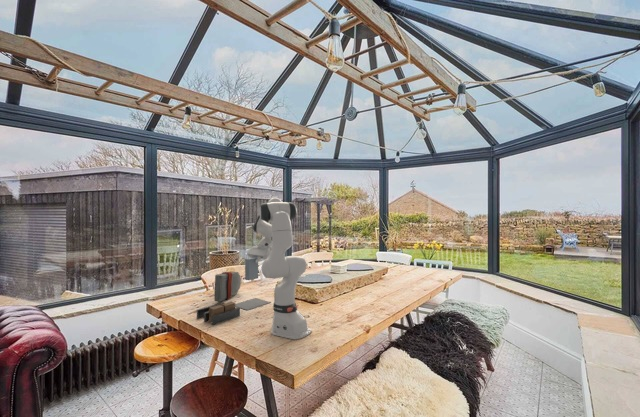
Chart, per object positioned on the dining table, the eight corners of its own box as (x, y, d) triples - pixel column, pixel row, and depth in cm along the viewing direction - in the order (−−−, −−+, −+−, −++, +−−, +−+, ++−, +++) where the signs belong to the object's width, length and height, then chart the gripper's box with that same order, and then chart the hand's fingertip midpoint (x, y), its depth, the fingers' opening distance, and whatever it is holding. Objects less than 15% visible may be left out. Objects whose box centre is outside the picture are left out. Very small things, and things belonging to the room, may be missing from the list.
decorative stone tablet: (222, 274, 200) (242, 269, 229) (213, 274, 201) (234, 269, 230) (221, 303, 198) (241, 294, 227) (212, 302, 199) (233, 294, 229)
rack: (239, 316, 177) (239, 307, 177) (213, 325, 163) (213, 316, 163) (223, 310, 188) (223, 302, 188) (196, 318, 173) (196, 309, 173)
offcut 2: (235, 315, 177) (235, 302, 177) (225, 319, 172) (225, 305, 172) (231, 314, 180) (231, 301, 180) (221, 317, 174) (221, 304, 174)
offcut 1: (223, 319, 171) (223, 306, 171) (212, 323, 166) (212, 309, 166) (219, 318, 174) (219, 304, 174) (208, 321, 168) (209, 307, 168)
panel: (258, 278, 202) (258, 257, 202) (248, 280, 195) (248, 259, 195) (254, 277, 204) (254, 257, 204) (245, 279, 198) (245, 258, 198)
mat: (270, 302, 203) (270, 302, 203) (247, 310, 187) (247, 309, 187) (255, 298, 212) (255, 297, 212) (232, 305, 197) (232, 304, 197)
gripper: (251, 242, 213) (240, 257, 205) (271, 244, 200) (260, 260, 193) (256, 247, 216) (245, 263, 209) (275, 250, 204) (265, 266, 196)
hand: (252, 262), depth 200 cm, fingers closed on panel, 4 cm apart
